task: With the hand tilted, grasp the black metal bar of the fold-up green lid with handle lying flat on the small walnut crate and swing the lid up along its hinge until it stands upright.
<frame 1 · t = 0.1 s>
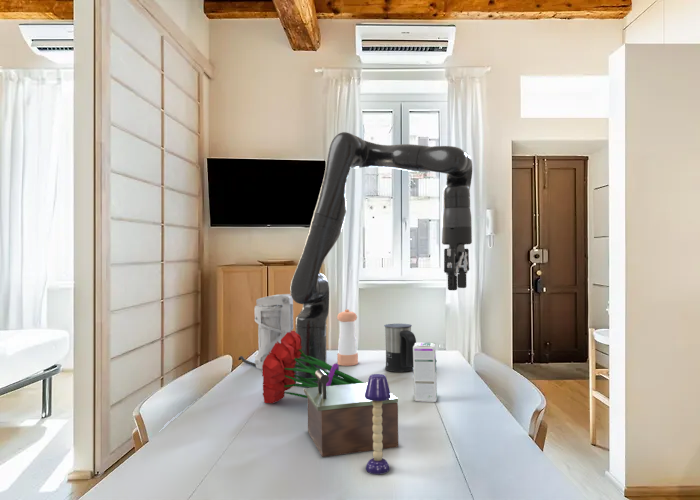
hand: (457, 289, 125), 29 cm above the table, tool pointing down, fingers open, 8 cm apart
milk frother: (410, 369, 163), on the table
syrup box: (425, 399, 129), on the table
bouquet: (321, 405, 125), on the table
green lid with handle: (348, 383, 101), point 12 cm above the table, hinge at 0.0°
toy lamp: (378, 469, 87), on the table
lantern: (273, 367, 169), on the table
crate: (351, 439, 101), on the table
pepper shaker: (347, 364, 172), on the table
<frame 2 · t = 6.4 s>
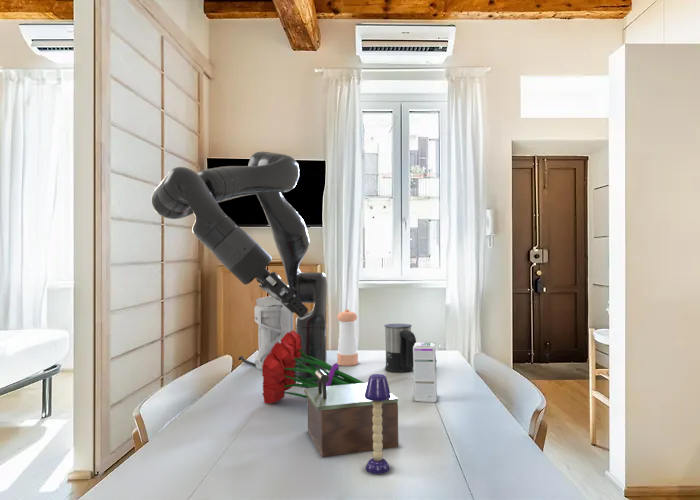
hand: (300, 311, 97), 27 cm above the table, tool tilted 45°, fingers open, 8 cm apart
nothing on the table moved.
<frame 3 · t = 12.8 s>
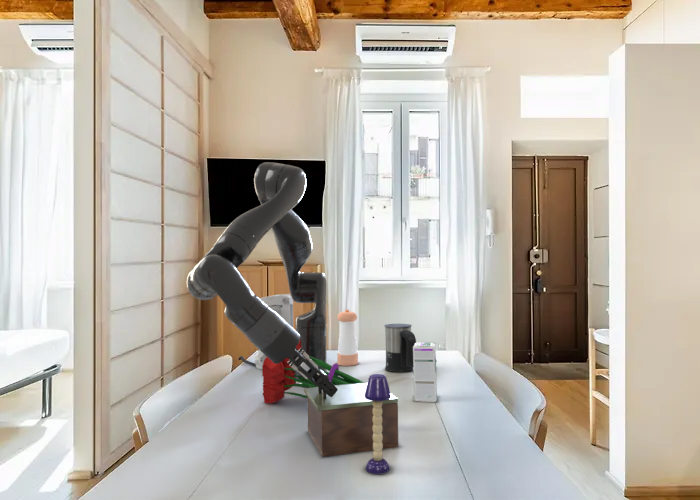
hand: (330, 389, 100), 11 cm above the table, tool tilted 45°, fingers closed on green lid with handle, 5 cm apart
green lid with handle: (348, 383, 101), point 12 cm above the table, hinge at 0.0°, touching gripper
everything else where it was.
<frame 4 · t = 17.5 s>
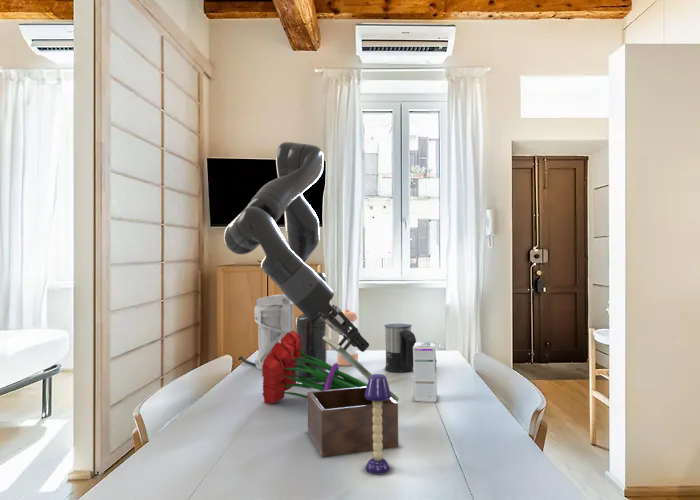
hand: (361, 345, 102), 19 cm above the table, tool tilted 45°, fingers closed on green lid with handle, 5 cm apart
green lid with handle: (366, 358, 102), point 17 cm above the table, hinge at 43.2°, touching gripper
everything else where it was.
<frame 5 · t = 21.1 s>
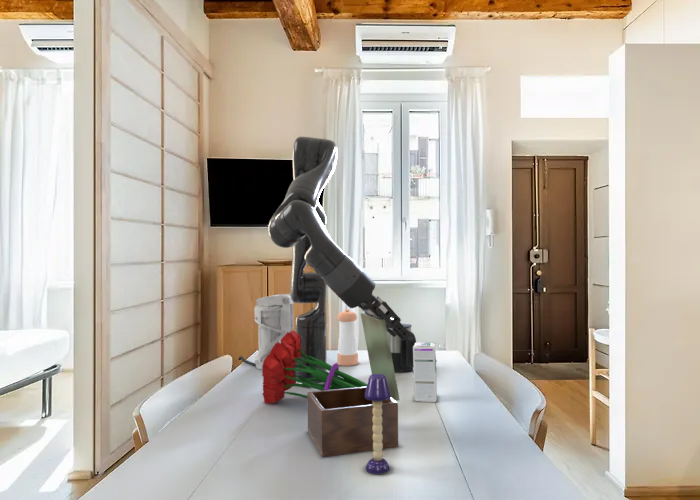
hand: (401, 335, 105), 21 cm above the table, tool tilted 45°, fingers closed on green lid with handle, 5 cm apart
green lid with handle: (389, 351, 104), point 18 cm above the table, hinge at 79.7°, touching gripper, hand
everything else where it was.
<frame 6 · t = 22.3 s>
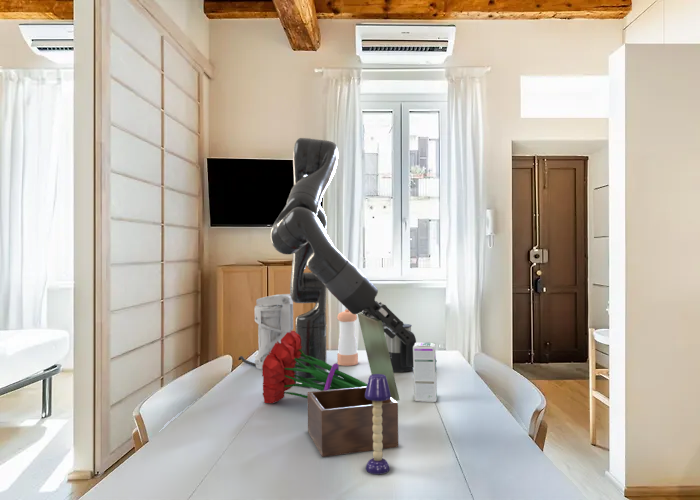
hand: (402, 338, 105), 20 cm above the table, tool tilted 45°, fingers open, 8 cm apart
green lid with handle: (387, 351, 104), point 18 cm above the table, hinge at 77.2°
everything else where it was.
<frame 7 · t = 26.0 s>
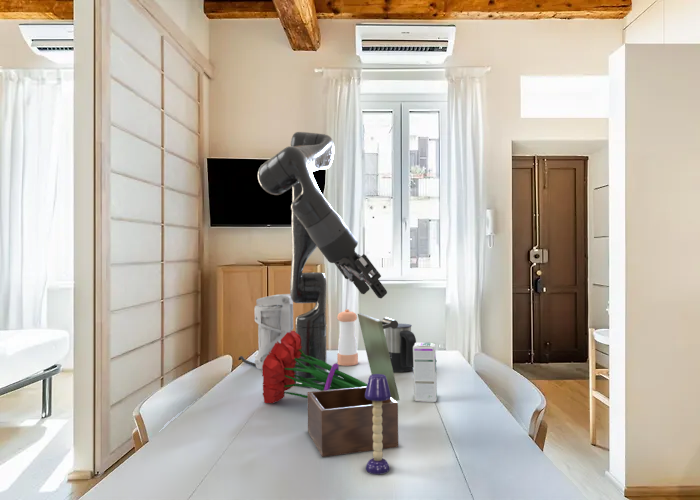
hand: (374, 293, 106), 30 cm above the table, tool tilted 40°, fingers open, 8 cm apart
nothing on the table moved.
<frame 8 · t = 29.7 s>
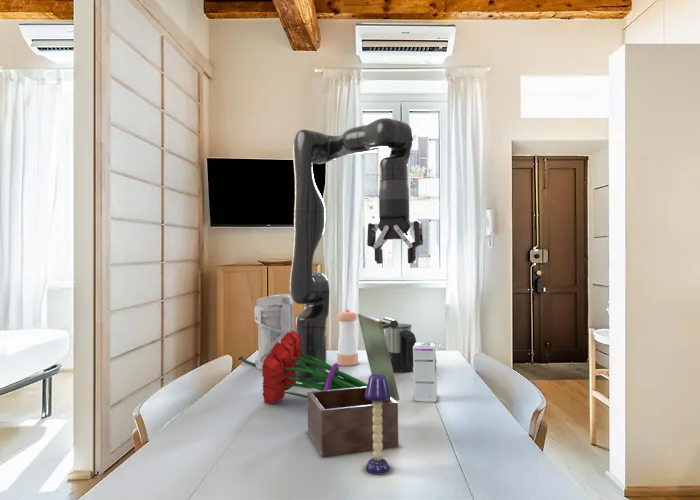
hand: (394, 263, 123), 36 cm above the table, tool pointing down, fingers open, 8 cm apart
nothing on the table moved.
at the end: green lid with handle at +77° (first picture: +0°) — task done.
